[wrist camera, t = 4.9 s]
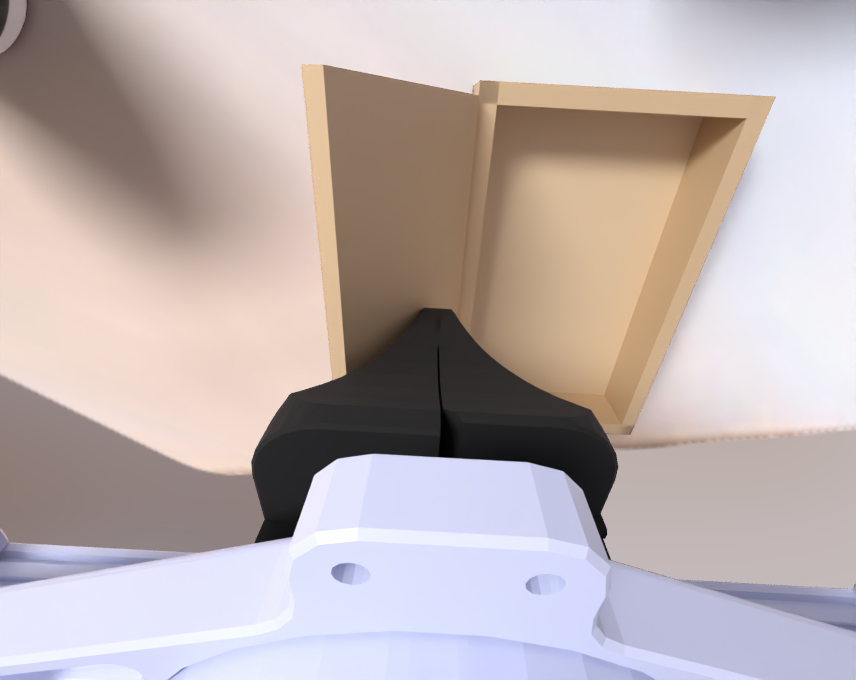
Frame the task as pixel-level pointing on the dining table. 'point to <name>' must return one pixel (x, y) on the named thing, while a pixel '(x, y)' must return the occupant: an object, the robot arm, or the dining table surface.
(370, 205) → the lid
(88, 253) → the dining table surface
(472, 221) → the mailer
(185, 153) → the dining table surface
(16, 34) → the pill bottle
